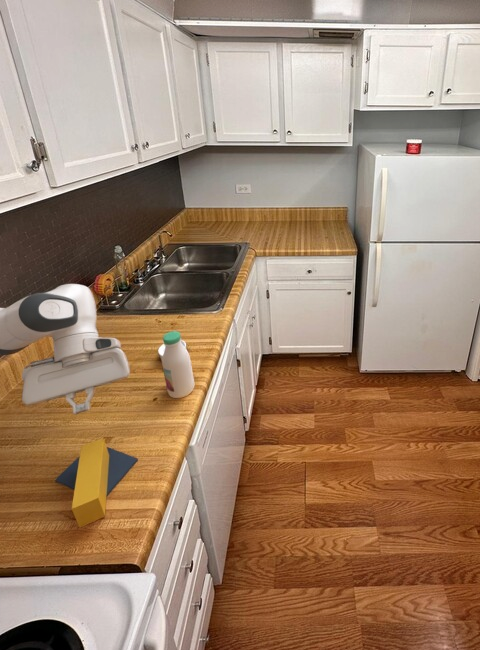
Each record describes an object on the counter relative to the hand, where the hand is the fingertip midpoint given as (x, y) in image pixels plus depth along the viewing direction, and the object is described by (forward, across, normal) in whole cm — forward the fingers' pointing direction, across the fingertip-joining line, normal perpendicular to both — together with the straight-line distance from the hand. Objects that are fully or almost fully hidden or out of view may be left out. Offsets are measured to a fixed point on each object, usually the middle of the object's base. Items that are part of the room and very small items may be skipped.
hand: (82, 412), depth 74 cm
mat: (+13, 0, +10) cm, 16 cm away
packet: (+9, 0, +9) cm, 13 cm away
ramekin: (-11, +20, +34) cm, 41 cm away
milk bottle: (+1, +20, +23) cm, 31 cm away
